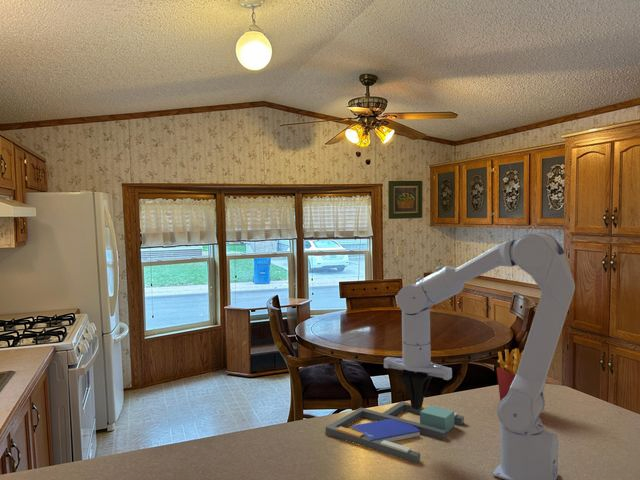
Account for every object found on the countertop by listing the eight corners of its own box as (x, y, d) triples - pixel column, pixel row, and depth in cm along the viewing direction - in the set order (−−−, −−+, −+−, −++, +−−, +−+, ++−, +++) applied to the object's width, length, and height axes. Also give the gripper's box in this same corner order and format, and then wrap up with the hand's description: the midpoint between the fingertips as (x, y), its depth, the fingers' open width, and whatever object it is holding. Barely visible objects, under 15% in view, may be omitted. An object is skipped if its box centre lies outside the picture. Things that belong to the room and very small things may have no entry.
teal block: (454, 426, 109) (454, 410, 108) (445, 433, 105) (445, 418, 104) (429, 419, 112) (429, 404, 112) (420, 427, 108) (420, 411, 108)
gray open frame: (446, 437, 103) (446, 428, 103) (416, 463, 92) (416, 454, 92) (360, 413, 116) (360, 405, 116) (325, 433, 105) (325, 425, 105)
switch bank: (463, 422, 110) (463, 414, 110) (446, 437, 103) (446, 428, 103) (401, 407, 120) (401, 399, 120) (382, 419, 113) (382, 411, 113)
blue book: (370, 439, 98) (420, 429, 104) (351, 424, 106) (398, 416, 111) (370, 446, 98) (419, 436, 104) (351, 431, 106) (398, 423, 111)
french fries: (515, 416, 113) (515, 353, 113) (490, 404, 121) (490, 345, 121) (543, 410, 117) (543, 349, 116) (517, 399, 124) (518, 342, 124)
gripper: (457, 343, 97) (458, 409, 98) (394, 334, 106) (395, 394, 107) (443, 350, 92) (444, 420, 92) (378, 340, 101) (379, 404, 101)
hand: (417, 407), depth 99 cm, fingers closed
